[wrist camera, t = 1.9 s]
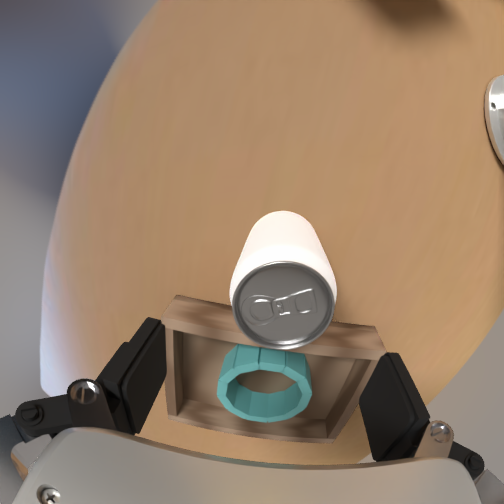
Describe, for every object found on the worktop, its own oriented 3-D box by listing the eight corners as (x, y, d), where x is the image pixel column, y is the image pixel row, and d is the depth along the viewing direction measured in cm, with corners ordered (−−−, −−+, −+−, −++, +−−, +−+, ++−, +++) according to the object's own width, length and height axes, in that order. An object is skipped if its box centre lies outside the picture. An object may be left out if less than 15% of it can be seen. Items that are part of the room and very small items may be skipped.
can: (240, 218, 26) (208, 267, 14) (309, 202, 25) (334, 241, 13) (257, 281, 28) (241, 362, 16) (322, 268, 27) (346, 344, 15)
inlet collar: (318, 345, 28) (322, 369, 25) (297, 402, 32) (297, 426, 28) (227, 331, 29) (220, 354, 25) (220, 390, 32) (214, 413, 28)
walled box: (375, 326, 28) (386, 351, 24) (329, 419, 34) (332, 443, 30) (176, 294, 29) (161, 316, 25) (177, 396, 35) (168, 419, 31)
